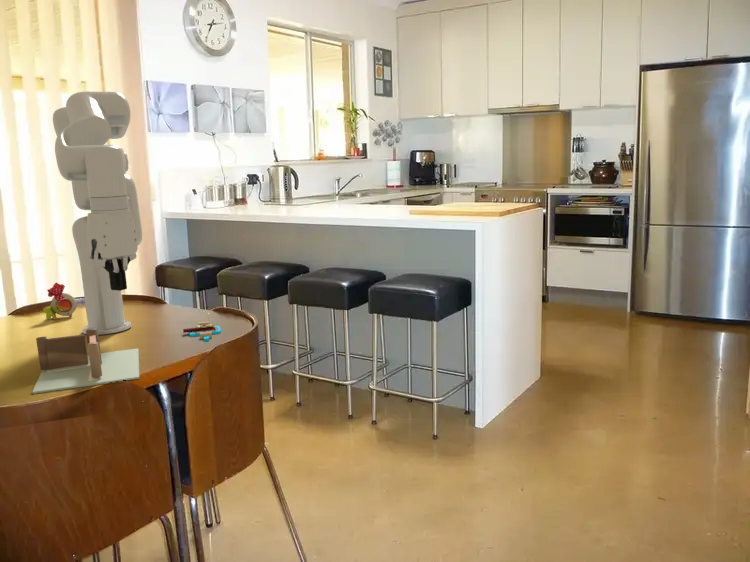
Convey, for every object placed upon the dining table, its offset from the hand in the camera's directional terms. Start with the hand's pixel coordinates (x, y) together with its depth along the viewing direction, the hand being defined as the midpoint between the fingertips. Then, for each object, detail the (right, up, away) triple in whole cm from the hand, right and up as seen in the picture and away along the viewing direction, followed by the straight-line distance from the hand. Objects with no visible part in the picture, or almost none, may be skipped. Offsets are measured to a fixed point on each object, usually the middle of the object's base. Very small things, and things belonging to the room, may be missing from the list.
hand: (118, 289), depth 145 cm
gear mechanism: (+10, -12, +31) cm, 35 cm away
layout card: (-7, -18, +1) cm, 19 cm away
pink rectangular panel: (-4, -17, -3) cm, 18 cm away
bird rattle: (-41, -10, +60) cm, 73 cm away
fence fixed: (-11, -17, +2) cm, 21 cm away
